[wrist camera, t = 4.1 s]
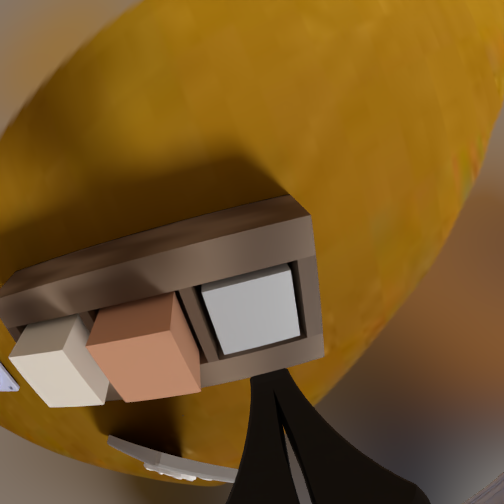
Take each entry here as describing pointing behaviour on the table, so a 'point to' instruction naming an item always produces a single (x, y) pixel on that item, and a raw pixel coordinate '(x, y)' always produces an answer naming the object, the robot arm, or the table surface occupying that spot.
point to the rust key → (146, 348)
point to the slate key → (252, 308)
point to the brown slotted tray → (184, 281)
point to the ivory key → (60, 363)
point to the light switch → (173, 463)
